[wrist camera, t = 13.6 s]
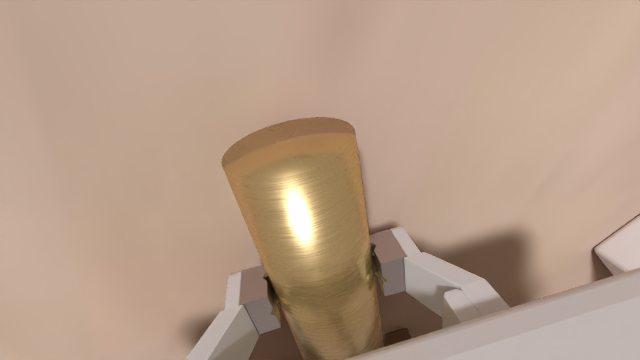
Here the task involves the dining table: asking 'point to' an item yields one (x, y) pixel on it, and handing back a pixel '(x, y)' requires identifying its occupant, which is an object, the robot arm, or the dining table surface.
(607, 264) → the medicine bottle
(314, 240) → the axle
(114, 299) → the dining table surface
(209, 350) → the robot arm
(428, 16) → the dining table surface
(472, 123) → the dining table surface
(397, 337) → the pair of brown bars
